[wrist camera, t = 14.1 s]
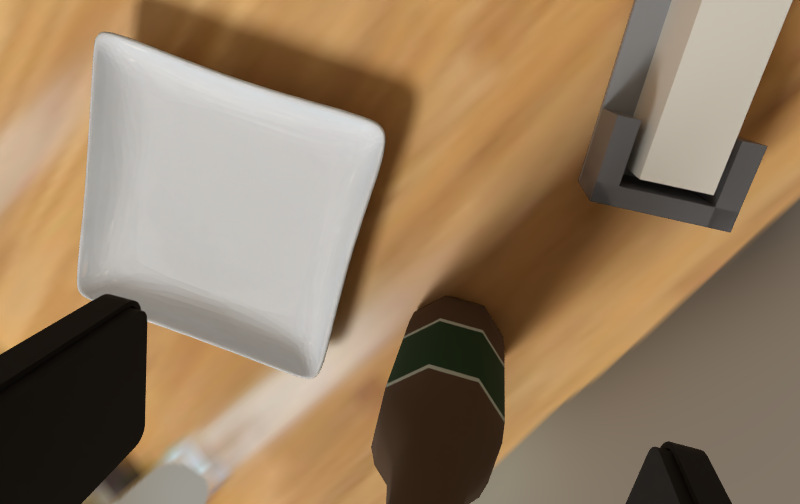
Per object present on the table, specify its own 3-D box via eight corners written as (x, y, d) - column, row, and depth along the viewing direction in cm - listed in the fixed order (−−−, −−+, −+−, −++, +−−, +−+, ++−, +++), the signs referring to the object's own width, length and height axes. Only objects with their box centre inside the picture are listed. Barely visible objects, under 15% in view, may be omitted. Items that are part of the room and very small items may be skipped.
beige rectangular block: (712, -123, 30) (760, -165, 25) (788, -111, 30) (853, -151, 24) (618, 160, 36) (639, 179, 30) (680, 174, 35) (713, 195, 30)
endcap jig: (686, -168, 30) (724, -216, 25) (838, -145, 29) (910, -189, 24) (578, 181, 37) (589, 201, 32) (698, 207, 37) (730, 232, 31)
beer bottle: (525, 332, 42) (551, 646, 19) (463, 398, 45) (423, 738, 22) (443, 272, 41) (372, 523, 19) (386, 343, 44) (265, 632, 22)
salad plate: (328, 365, 46) (315, 387, 43) (100, 281, 48) (71, 297, 44) (400, 120, 38) (391, 125, 35) (124, 28, 40) (92, 26, 37)
